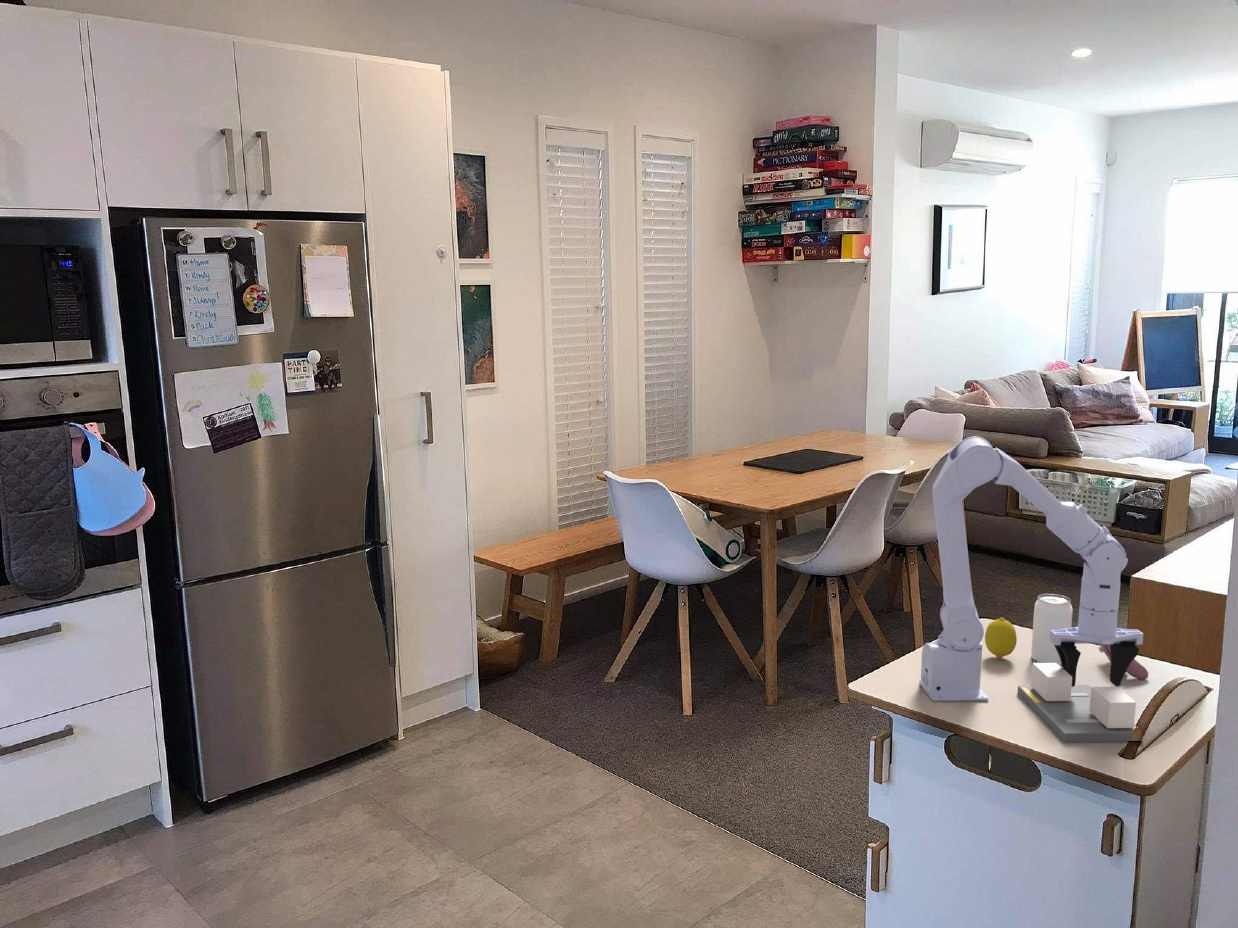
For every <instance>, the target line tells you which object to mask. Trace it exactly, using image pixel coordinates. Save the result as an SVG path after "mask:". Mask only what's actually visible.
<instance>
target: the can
mask: <svg viewBox="0 0 1238 928" xmlns="http://www.w3.org/2000/svg"><path fill="white" fill-rule="evenodd" d="M1032 622H1033V625H1032V635H1031V636H1032V637H1031V650H1030V651H1031V652H1030V654H1031V659H1032V660H1033V661H1035V660H1036V661H1038V662H1039V663H1057V664H1058V665H1061V666H1062V663H1061V660H1060V657H1059V655H1058V652H1057V650H1056V648H1055V646H1054V644H1053V643H1051V642H1050V631H1051V630H1061V629H1068V628H1072V624H1073V607H1072V603H1071V598H1069V597H1067V596H1065V595H1061V594H1055V593H1042V594H1039V595H1038V596H1037V600H1036V602H1035V603H1034V610H1033V621H1032ZM1036 661H1035V662H1036ZM1038 662H1037V663H1038Z"/></svg>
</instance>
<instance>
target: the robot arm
mask: <svg viewBox="0 0 1238 928" xmlns="http://www.w3.org/2000/svg"><path fill="white" fill-rule="evenodd" d="M992 480H993V482H994V484H996V485H1001V486H1010V487H1012V488H1013V489H1014V490H1015V491H1016V492H1018V493H1019V494H1020V495H1021V496H1022V497H1024V498H1025V499H1026V500H1027V501H1028V502H1030V503H1031V504H1032V505H1033V506H1035V507H1036V508H1037V509H1038V510H1039V511H1041V512H1042V513H1043V514H1044V515H1045V517H1046V518H1045V519H1046V522H1045V523H1046V527H1047V529H1048V530H1050V531H1051V532H1052V533H1053V534H1054V535H1055V536H1056V537H1058V538H1059V539H1060V540H1061V541H1062V542H1063V543H1064V544H1066V545H1067V547H1069V548H1070V549H1071V550H1072V551H1073V552H1074V553H1076V554H1080V556H1081V559H1083V560H1085V562H1083V570H1082V577H1081V586H1080V595H1079V596H1080V600H1079V608H1078V622H1077V626H1075V627H1071V628H1068V629H1061V630H1051V631H1050V642H1051V643H1053V644H1054V646H1055V648H1056V650H1057V652H1058V655H1059V657H1060V660H1061V663H1062V665H1061V667H1062V668H1063V669H1064V670H1065V671H1066V672H1067V673H1069V674H1070V675H1071V676H1072V687H1074V686H1075V685H1076V680H1077V679H1076V678H1077V668H1078V663H1079V659H1080V656H1081V651H1079V650H1078V649H1077V645H1076V644H1084V645H1085V644H1099V643H1101V644H1110V650H1111V662H1110V666H1109V667H1110V669H1109V683H1111V684H1112V685H1113V686H1114V687H1116V686H1117V687H1121V683H1122V681H1123V678H1124V676H1125V674H1126V673H1127V672H1126V670H1127V668H1128V666H1129V665H1130V663H1131V662H1132V661H1133V659H1135V658H1136V657H1137V656H1138V655H1139V651H1140V648H1139V647H1138V645H1140V646H1141V645H1143V643H1144V633H1143V632H1142V631H1140V630H1139V629H1135V628H1134V629H1130V628H1129V629H1128V628H1119V627H1118V626H1117V625H1118V615H1119V606H1120V603H1119V602H1120V595H1121V593H1120V592H1121V573H1122V572H1123V571H1124V569H1125V568H1126V567H1127V565H1128V561H1129V558H1127V553H1126V549H1125V547H1123V545H1122V544H1121V543H1120V542H1119V541H1118V540H1117V539H1116V538H1115V537H1113V536H1112V533H1111V532H1110V530H1109V529H1108V527H1106V526H1105V525H1102V526H1101V525H1100V524H1099V523H1097V521H1095V520H1094V519H1093V518H1092V517H1091V516H1089V515H1088V514H1087V513H1088V509H1087V508H1086V507H1085V506H1084V505H1083V504H1081V503H1079V504H1078V505H1077V504H1076V503H1075V502H1073V501H1061V500H1059V499H1057V498H1056V497H1055V495H1053V494H1052V493H1051V492H1050V491H1049V490H1048V489H1047V488H1046V487H1045V486H1044V485H1043V484H1042V483H1041V482H1039V481H1038V480H1037V479H1036V478H1035V477H1034V476H1033V475H1032V474H1031V473H1030V472H1029V471H1028V470H1027V469H1026V468H1025V467H1023V465H1021V464H1020V463H1019V462H1018V461H1017V460H1015V459H1014V458H1013V457H1011V456H1010V455H1008V454H1006V453H1005V452H1004V451H1003V450H1001V449H999V448H998V447H995V448H994V447H993V445H992V444H991V442H989V441H988V440H987V439H985V438H984V437H981V436H968V437H966V438H964V439H962V440H961V441H960V442H958V444H957V445H955V446H954V447H953V448H952V449H951V450H950V451H949V452H948V455H947V457H946V460H945V462H944V464H943V466H942V468H941V470H940V472H939V473H938V475H937V477H936V479H935V481H934V482H933V485H932V488H931V489H932V491H931V492H932V500H933V506H934V507H933V510H934V518H935V525H936V526H935V527H936V528H935V529H936V535H937V537H936V538H937V542H938V543H937V544H938V552H939V553H938V554H939V560H940V561H939V562H940V570H941V571H940V572H941V578H942V579H941V580H942V588H943V589H942V595H943V604H942V606H941V608H940V612H939V618H940V621H941V623H942V624H941V625H942V628H943V630H942V632H941V633H939V634H940V635H938V636H937V637H938V638H937V640H935V641H932V642H925V643H924V644H923V646H922V651H921V666H920V667H921V669H920V680H919V682H918V683H919V685H921V687H922V688H923V689H924V691H925V692H926V694H927V695H928V697H929V698H930V700H932V701H934V702H944V701H945V702H949V701H951V702H953V701H954V702H956V701H957V702H959V701H963V702H964V701H965V702H967V701H973V702H974V701H988V700H989V697H988V695H987V694H986V693H985V692H984V691H983V690H982V688H981V676H982V675H981V673H982V672H981V671H982V661H983V660H982V657H983V641H982V640H983V639H984V638H983V637H984V636H985V634H984V633H985V632H984V630H985V629H984V626H983V623H982V622H981V621H980V618H979V613H978V610H977V609H978V608H976V605H975V601H974V595H973V588H972V587H973V585H972V579H971V578H972V577H971V569H970V560H969V550H968V541H967V540H968V539H967V531H966V525H965V524H966V523H965V515H964V514H965V513H964V504H963V500H965V499H966V498H967V497H968V496H969V495H970V494H971V493H972V491H974V489H976V488H978V487H980V486H983V485H985V484H987V483H989V482H991V481H992ZM1136 645H1137V646H1136ZM1125 672H1126V673H1125Z"/></svg>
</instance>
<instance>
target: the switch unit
mask: <svg viewBox="0 0 1238 928" xmlns="http://www.w3.org/2000/svg"><path fill="white" fill-rule="evenodd" d="M1091 687H1092V686H1090V685H1088V684H1075V686H1074V687H1071V700H1070V701H1045V700H1044V699H1043V698H1042V697H1041V696H1040V695H1039V694H1038V693H1037V692H1036V691H1035V690H1034V689H1033V688H1032V687H1031V685H1017V695H1018V696H1019V697H1020V698H1021V699H1022V700H1023V701H1024V702H1025V703H1026V704H1027V706H1028V707H1029V708H1030V709H1031V710H1032V711H1033V712H1034V713H1035V714H1036V715H1037V716H1038V717H1039V718H1040V719H1041V720H1042V721H1043V722H1044V723H1045V724H1046V726H1048V728H1050V729H1051V730H1052V732H1054V733H1055V735H1056V736H1057V737H1058V738H1060V740H1061V741H1062V742H1063V743H1129V742H1128V740H1129V739H1130V737H1131V735H1132V733H1133V729H1135V728H1136V727H1137V725H1135V724H1134V728H1107V727H1106V726H1105V725H1104V724H1103V723H1102V722H1100V721H1099V720H1098V719H1097V718H1096V717H1095V716H1094V715H1093V714H1092V713H1091V712H1090V711H1089V710H1090V698H1091Z"/></svg>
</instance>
